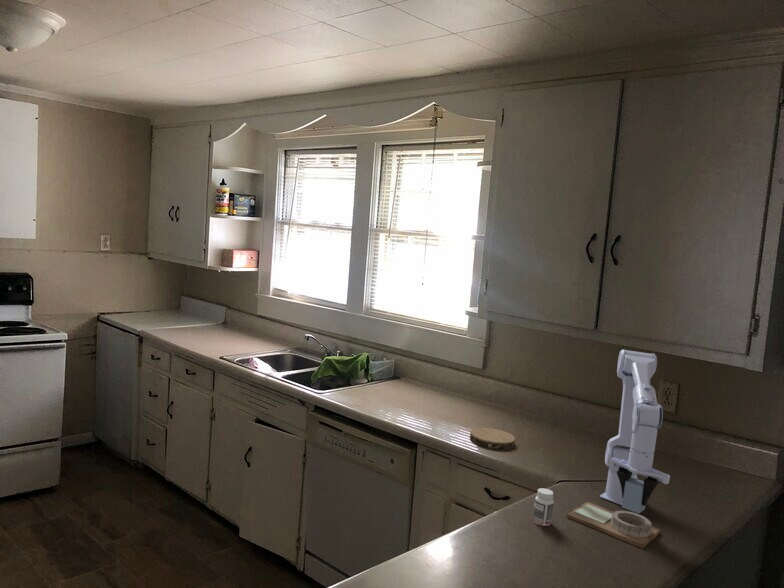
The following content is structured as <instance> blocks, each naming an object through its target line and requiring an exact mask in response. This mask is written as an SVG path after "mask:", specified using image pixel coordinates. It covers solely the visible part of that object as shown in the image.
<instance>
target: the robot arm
mask: <svg viewBox="0 0 784 588" xmlns="http://www.w3.org/2000/svg"><path fill="white" fill-rule="evenodd" d="M617 357H618V359H617V368H616V373H617V374H616V375H617V377H618V378H619V379H621V380H622V396H621V405H620V414H619V415H620V416H619V424H618V434H617V435H615V436H614V437H611V438H610V439H609V440H608V441H607V443H606V448H605V454H604V463H605V466H606V467H608V473H607V479H606V487H605V491H604V492H603V493H602V494H600V495H599V497H600V498H601V499H604V500H606V501H609V502H612V503H615V504H617V505H620V506H622V503H623V496H624V489H625V482H626V481H627V480H628V479H630V478H635V479H638V475H639V476H643V477H646V478H645V479H643V481H644V493H643V498H642V505H643V506H645V505H646V506H647V504H648V502H649V500H650V497H651V495H652V493H653V491H654V490H655V488H656V487H657V485H659V483H660V482H661V483H662V484H664V485H668V484H669V483H670V478H671V475H670V474H667V473H664V472H662V471H660V470H658V469H655V468H654V467H653V463H654V456H655V450H656V443H657V437H658V429H661V428H662V427H661V426H662V423H663V418H664V417H663V413H664V412H663V407H662V405H660V404H661V403H658V399H657V394H656V389H655V388H654V387H653V385H651V378H652V377H653V376H654V374H655V373H656V370H657V366H658V357H657V355H656V354H655V353H649V352H648V353H647V352H641V351H636V350H635V351H632V350H628V349H621V350H620V351H619V354H618V356H617ZM622 446H623V447H622ZM626 447H627V448H626ZM646 506H645V507H646Z"/></svg>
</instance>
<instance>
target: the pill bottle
mask: <svg viewBox="0 0 784 588" xmlns="http://www.w3.org/2000/svg"><path fill="white" fill-rule="evenodd" d="M554 503H555V502H554V492H553V490H551V489H548V488H543V487H540V488H538V489H537V493H536V496H535V498H534V506H533V513H532V522H533V523H534V524H536V525H539V526H543V527H549V526H551V523H552V519H553V512H554Z"/></svg>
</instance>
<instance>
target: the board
mask: <svg viewBox="0 0 784 588" xmlns="http://www.w3.org/2000/svg"><path fill="white" fill-rule="evenodd" d="M566 518H567V519H570V520H572V521H575V522H577V523H579V524H582V525H584V526H587V527H589V528H591V529H594V530H596V531H599V532H601V533H603V534H606V535H608V536H611V537H613V538H616V539H619V540H620V541H624V542H625V543H628V544H631V545H632V546H636V547H638V548H640V549H644V548H645V547H646V546H647V545H648V544H649V543H651V542H652V541H653V540H654V539H655V538H656V537H658V535H659V534H660V533H661V529H660V528H657V527H655V526H652V522H651V520H650V519H648V518H647V517H645V516H644V515H641V514H640V513H636V512H633V511H629V510H628V511H627V510H616V511H614V510H610V509H607V508H605V507H603V506H600V505H599V504H598V505H597V504H595V503H592V502H590V501H586V502H585V503H583V504H581V505H580V506H578V507H576V508H574V509H573V510H572V511H570V512H568V513H567V514H566Z"/></svg>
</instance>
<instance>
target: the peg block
mask: <svg viewBox="0 0 784 588" xmlns="http://www.w3.org/2000/svg"><path fill="white" fill-rule="evenodd" d="M643 493H644V480H640V479H639V478H637V479H635V478H630V479H628V480H627V481H626V482H625V489H624V496H623V503H622V505H621V508H623V509H626V510H628V511H630V512H633V513H636V514H640V513H642V512H644V511H645V509H646V506H647V505H645V506H643V505H642V498H643Z"/></svg>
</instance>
